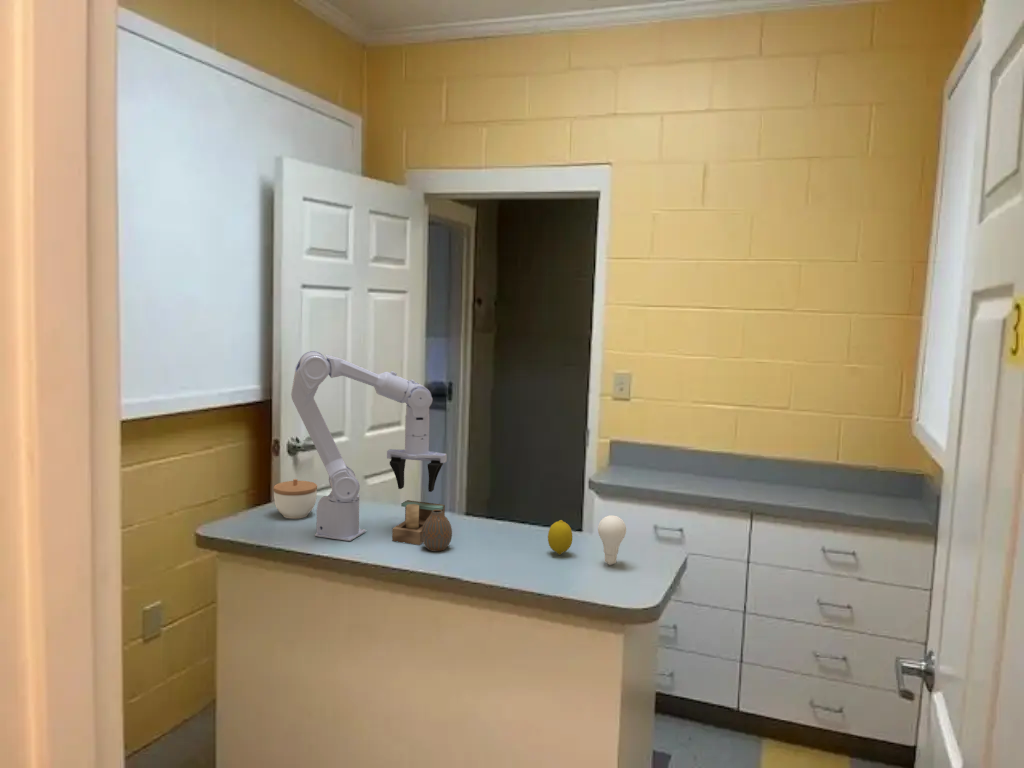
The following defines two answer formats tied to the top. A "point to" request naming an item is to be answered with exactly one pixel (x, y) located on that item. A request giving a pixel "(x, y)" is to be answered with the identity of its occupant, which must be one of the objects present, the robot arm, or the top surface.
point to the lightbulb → (611, 536)
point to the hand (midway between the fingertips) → (416, 489)
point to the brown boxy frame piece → (415, 536)
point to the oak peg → (412, 516)
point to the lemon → (560, 537)
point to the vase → (436, 531)
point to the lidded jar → (295, 498)
